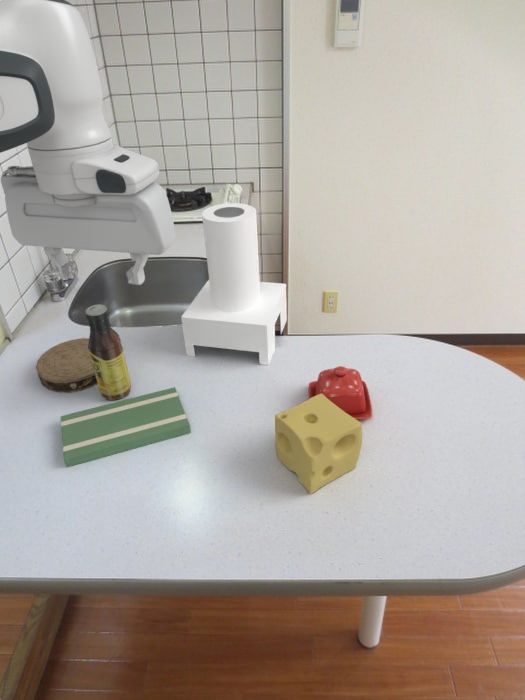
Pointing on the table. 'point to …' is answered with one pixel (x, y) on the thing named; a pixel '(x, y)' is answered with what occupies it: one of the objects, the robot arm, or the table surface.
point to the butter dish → (344, 391)
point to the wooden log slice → (67, 367)
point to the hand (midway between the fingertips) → (103, 279)
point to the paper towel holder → (234, 288)
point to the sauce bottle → (107, 354)
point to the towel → (122, 426)
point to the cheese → (317, 441)
